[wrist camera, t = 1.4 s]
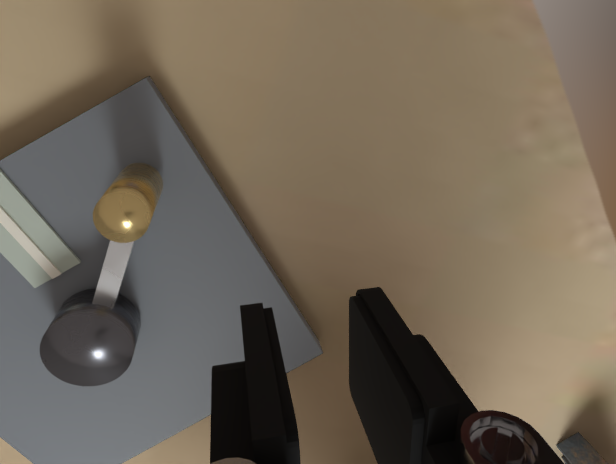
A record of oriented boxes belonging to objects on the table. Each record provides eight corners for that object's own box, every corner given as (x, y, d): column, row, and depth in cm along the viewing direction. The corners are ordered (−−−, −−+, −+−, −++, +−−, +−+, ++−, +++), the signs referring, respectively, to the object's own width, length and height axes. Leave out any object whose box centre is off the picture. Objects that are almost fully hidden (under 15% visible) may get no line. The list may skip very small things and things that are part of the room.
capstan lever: (129, 361, 30) (109, 434, 24) (49, 345, 28) (7, 419, 23) (191, 176, 26) (184, 211, 20) (102, 146, 24) (67, 175, 19)
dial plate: (318, 341, 34) (324, 356, 33) (74, 474, 35) (67, 496, 33) (149, 76, 25) (144, 77, 23) (-180, 263, 26) (-208, 278, 24)
